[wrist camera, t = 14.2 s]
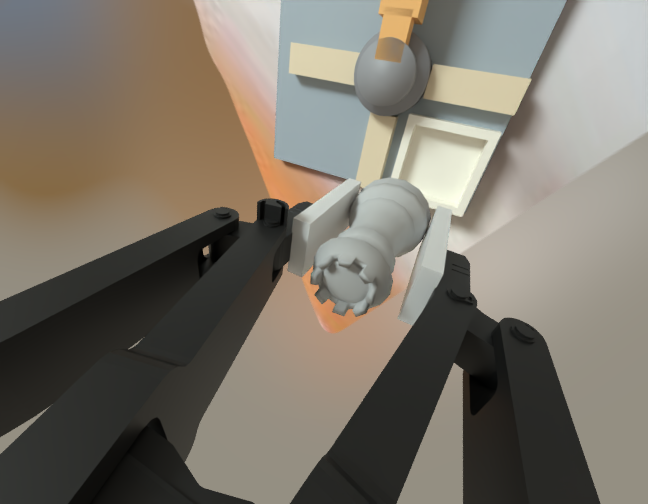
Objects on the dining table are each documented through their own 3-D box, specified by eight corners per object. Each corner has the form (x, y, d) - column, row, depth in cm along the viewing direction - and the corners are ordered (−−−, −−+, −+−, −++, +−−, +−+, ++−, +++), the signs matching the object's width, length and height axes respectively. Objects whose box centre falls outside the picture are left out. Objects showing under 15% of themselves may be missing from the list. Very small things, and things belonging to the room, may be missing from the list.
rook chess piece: (411, 258, 17) (376, 355, 11) (346, 229, 18) (280, 301, 12) (447, 193, 14) (428, 270, 8) (369, 163, 15) (299, 210, 9)
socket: (411, 113, 25) (409, 114, 24) (499, 131, 23) (501, 133, 21) (389, 190, 29) (385, 194, 28) (462, 211, 27) (462, 217, 26)
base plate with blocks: (293, -89, 23) (268, -115, 20) (606, -89, 17) (634, -126, 14) (279, 156, 34) (262, 161, 31) (465, 209, 28) (464, 222, 25)
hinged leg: (409, 109, 23) (403, 111, 21) (360, 100, 24) (351, 100, 23) (472, -113, 17) (473, -140, 15) (401, -112, 18) (393, -136, 16)
